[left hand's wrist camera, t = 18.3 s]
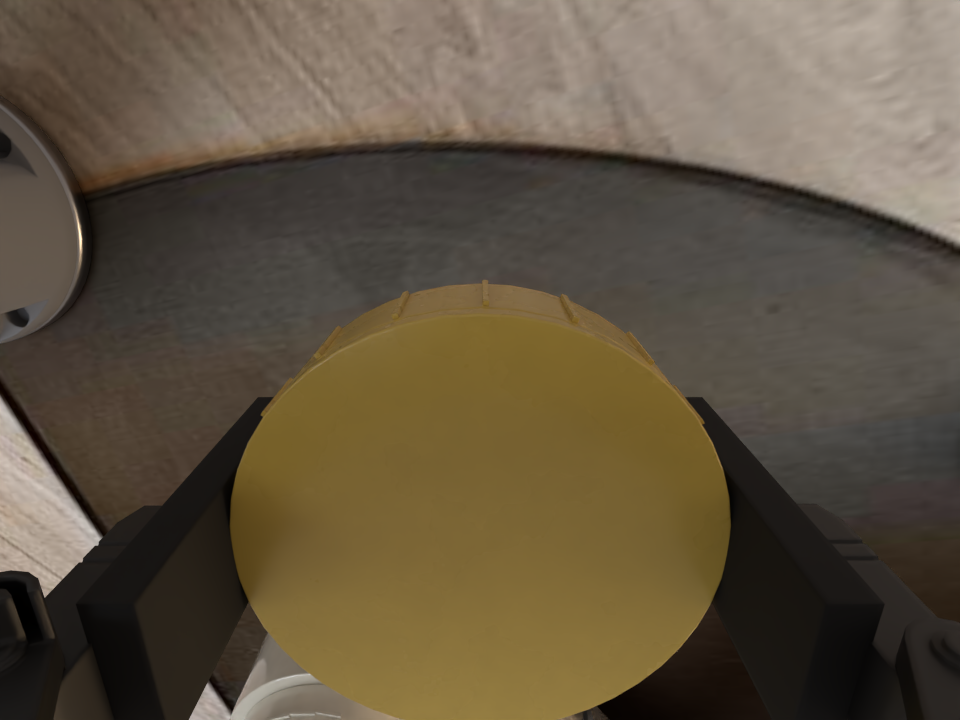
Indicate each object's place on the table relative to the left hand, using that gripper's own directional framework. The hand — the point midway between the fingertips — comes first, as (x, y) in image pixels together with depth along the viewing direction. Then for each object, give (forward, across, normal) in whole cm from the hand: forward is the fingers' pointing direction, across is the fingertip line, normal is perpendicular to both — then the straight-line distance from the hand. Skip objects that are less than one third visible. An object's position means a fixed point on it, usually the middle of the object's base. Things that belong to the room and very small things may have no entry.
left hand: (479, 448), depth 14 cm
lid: (-3, 0, 0) cm, 3 cm away
